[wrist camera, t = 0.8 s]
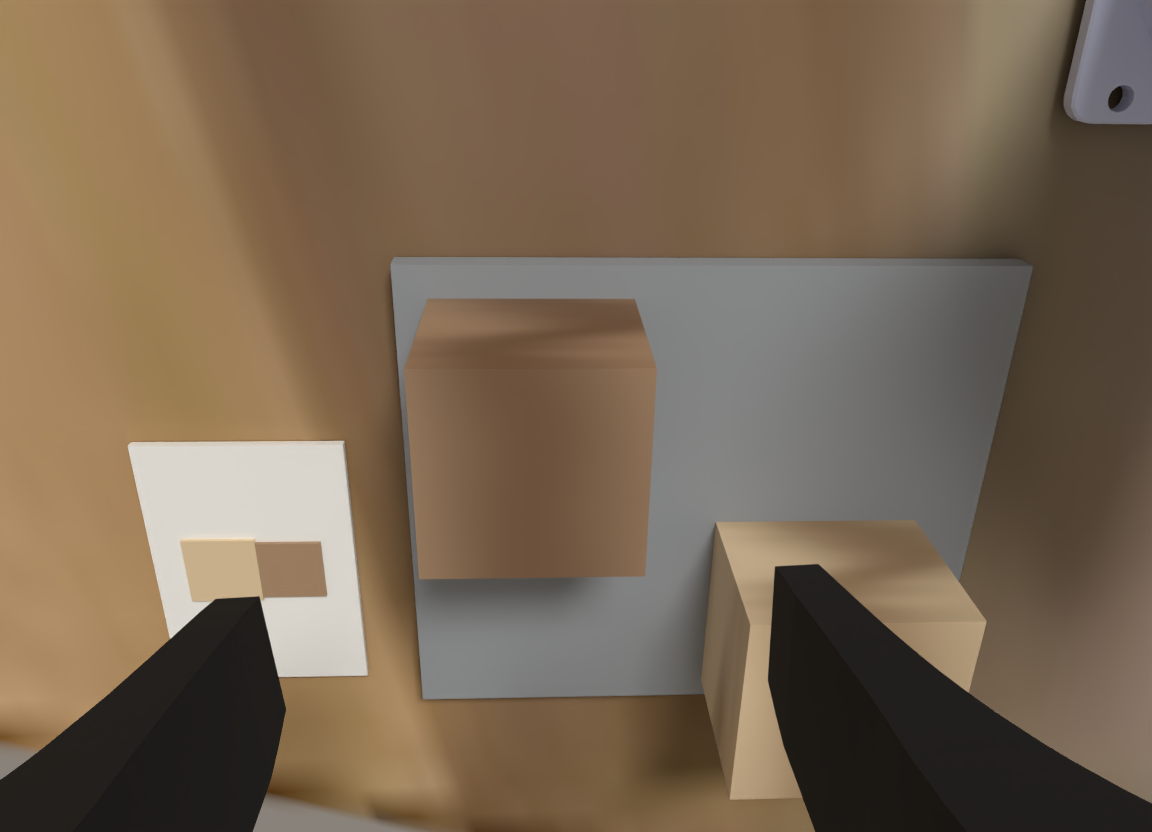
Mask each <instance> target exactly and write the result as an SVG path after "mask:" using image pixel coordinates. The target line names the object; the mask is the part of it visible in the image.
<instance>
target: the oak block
mask: <svg viewBox="0 0 1152 832" xmlns="http://www.w3.org/2000/svg"><path fill="white" fill-rule="evenodd" d="M808 564H819V565H820V566H821V567H822V568H823V569H824V570H826V571H827V572H828V573H829V574H830V575H831V576H832V577H833V578H834V579H835V580H836V581H837V582H839V583H840V584H841V585H842V586H843V587H844V588H845V589H846V590H847V591H848V592H849V593H850V594H851V595H853V596H854V597H855V598H856V599H857V600H858V601H859V602H860V603H861V604H862V605H863V606H865V607H866V608H867V609H868V610H869V611H870V612H871V613H872V614H873V615H874V616H875V617H877V618H878V619H879V620H880V621H881V622H882V623H883V624H884V625H885V626H887V627H888V628H889V629H890V630H891V631H892V632H893V633H895V634H896V635H897V636H898V637H899V638H900V639H902V640H903V641H904V642H905V643H906V644H907V645H909V646H910V647H911V648H912V649H913V650H915V651H916V652H917V653H918V654H919V655H921V656H922V657H923V658H924V659H925V660H927V661H928V662H929V663H930V664H932V665H933V666H934V667H935V668H937V669H938V670H939V671H940V672H942V673H943V674H944V675H946V676H947V677H948V678H950V679H951V680H952V681H954V682H955V683H956V684H958V685H959V686H960V687H961V688H963V689H964V690H965V691H967V692H968V693H969V689H970V685H971V681H972V677H973V673H974V670H975V666H976V662H977V658H978V654H979V650H980V646H981V642H982V638H983V635H984V631H985V627H986V623H987V621H986V620H985V618H984V617H983V615H982V614H981V613H980V611H979V610H978V608H977V607H976V606H975V604H974V603H973V601H972V600H971V598H970V597H969V596H968V594H967V593H966V591H965V590H964V589H963V587H962V586H961V584H960V583H959V582H958V580H957V579H956V577H955V576H954V575H953V573H952V572H951V570H950V569H949V567H948V566H947V565H946V563H945V562H944V560H943V559H942V558H941V556H940V555H939V553H938V552H937V551H936V549H935V548H934V546H933V545H932V543H931V542H930V541H929V539H928V538H927V536H926V535H925V534H924V532H923V531H922V529H921V528H920V527H919V525H918V524H917V522H916V521H915V520H876V521H775V522H716V526H715V536H714V547H713V558H712V568H711V579H710V590H709V600H708V611H707V622H706V632H705V643H704V654H703V664H702V675H701V682H702V686H703V690H704V694H705V699H706V703H707V707H708V711H709V715H710V720H711V724H712V728H713V732H714V736H715V740H716V745H717V749H718V753H719V757H720V761H721V765H722V770H723V774H724V778H725V782H726V786H727V791H728V795H729V799H730V800H733V799H776V798H803V797H802V795H801V792H800V789H799V787H798V784H797V781H796V779H795V776H794V773H793V771H792V768H791V765H790V763H789V760H788V757H787V754H786V751H785V749H784V746H783V742H782V738H781V734H780V730H779V726H778V722H777V718H776V714H775V710H774V705H773V701H772V697H771V692H770V688H769V684H768V668H769V652H770V636H771V620H772V605H773V589H774V573H775V566H790V565H808Z"/></svg>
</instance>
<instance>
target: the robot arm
mask: <svg viewBox="0 0 1152 832" xmlns="http://www.w3.org/2000/svg"><path fill="white" fill-rule="evenodd" d="M1118 86H1120V87H1121V88H1122V90H1123V96H1122V99H1121V101H1120V103H1119V104H1118V105H1117V106H1116V107H1114V108H1113V109H1110V108H1109V106H1108V98H1109V96H1110V94H1111V92H1112V91H1113V90H1114V89H1115V88H1117V87H1118ZM1064 108H1065V111H1066V114H1067V115H1068V116H1069V117H1070V118H1072V119H1073V120H1076V121H1080V122H1084V123H1088V124H1152V0H1086V3H1085V8H1084V12H1083V16H1082V21H1081V25H1080V29H1079V34H1078V38H1077V42H1076V47H1075V51H1074V55H1073V60H1072V64H1071V68H1070V73H1069V77H1068V81H1067V86H1066V90H1065V94H1064ZM768 684H769V688H770V692H771V697H772V701H773V705H774V710H775V714H776V718H777V722H778V726H779V730H780V734H781V738H782V742H783V746H784V749H785V751H786V754H787V757H788V760H789V763H790V765H791V768H792V771H793V773H794V776H795V779H796V781H797V784H798V787H799V789H800V792H801V795H802V797H803V800H804V803H805V805H806V808H807V811H808V813H809V816H810V818H811V821H812V824H813V826H814V829H815V832H1152V804H1151V803H1149V802H1147V801H1146V800H1144V799H1142V798H1140V797H1138V796H1136V795H1134V794H1132V793H1130V792H1128V791H1126V790H1124V789H1122V788H1120V787H1118V786H1117V785H1115V784H1113V783H1111V782H1109V781H1108V780H1106V779H1104V778H1102V777H1100V776H1099V775H1097V774H1095V773H1093V772H1091V771H1090V770H1088V769H1086V768H1084V767H1082V766H1081V765H1079V764H1077V763H1075V762H1073V761H1072V760H1070V759H1068V758H1067V757H1065V756H1063V755H1062V754H1060V753H1058V752H1057V751H1055V750H1053V749H1051V748H1050V747H1048V746H1047V745H1045V744H1043V743H1042V742H1040V741H1039V740H1037V739H1036V738H1034V737H1032V736H1031V735H1029V734H1028V733H1026V732H1025V731H1023V730H1022V729H1020V728H1019V727H1017V726H1016V725H1014V724H1013V723H1011V722H1009V721H1008V720H1006V719H1005V718H1003V717H1002V716H1000V715H999V714H997V713H996V712H994V711H993V710H992V709H990V708H989V707H987V706H986V705H984V704H983V703H982V702H980V701H979V700H977V699H976V698H975V697H973V696H972V695H971V694H969V693H968V692H967V691H965V690H964V689H963V688H961V687H960V686H959V685H958V684H956V683H955V682H954V681H952V680H951V679H950V678H948V677H947V676H946V675H944V674H943V673H942V672H940V671H939V670H938V669H937V668H935V667H934V666H933V665H932V664H930V663H929V662H928V661H927V660H925V659H924V658H923V657H922V656H921V655H919V654H918V653H917V652H916V651H915V650H913V649H912V648H911V647H910V646H909V645H907V644H906V643H905V642H904V641H903V640H902V639H900V638H899V637H898V636H897V635H896V634H895V633H893V632H892V631H891V630H890V629H889V628H888V627H887V626H885V625H884V624H883V623H882V622H881V621H880V620H879V619H878V618H877V617H875V616H874V615H873V614H872V613H871V612H870V611H869V610H868V609H867V608H866V607H865V606H863V605H862V604H861V603H860V602H859V601H858V600H857V599H856V598H855V597H854V596H853V595H851V594H850V593H849V592H848V591H847V590H846V589H845V588H844V587H843V586H842V585H841V584H840V583H839V582H837V581H836V580H835V579H834V578H833V577H832V576H831V575H830V574H829V573H828V572H827V571H826V570H824V569H823V568H822V567H821V566H820V565H819V564H808V565H790V566H775V573H774V589H773V605H772V620H771V636H770V652H769V668H768ZM285 712H286V707H285V703H284V699H283V694H282V690H281V686H280V682H279V677H278V673H277V669H276V664H275V660H274V656H273V652H272V647H271V643H270V639H269V635H268V630H267V626H266V622H265V617H264V613H263V609H262V605H261V600H260V596H256V597H238V598H221V599H215V600H214V601H213V602H211V603H210V604H209V605H208V606H206V607H205V608H204V609H203V610H202V611H201V612H200V613H198V614H197V615H196V616H195V617H194V618H193V619H192V620H191V621H189V622H188V623H187V624H186V625H185V626H184V627H183V628H182V629H181V630H180V631H178V632H177V633H176V634H175V635H174V636H173V637H172V638H171V639H170V640H169V641H168V642H166V643H165V644H164V645H163V646H162V647H161V648H160V649H159V650H158V651H157V652H156V653H154V654H153V655H152V656H151V657H150V658H149V659H148V660H147V661H145V662H144V663H143V664H142V665H141V666H140V667H139V668H138V669H137V670H135V671H134V672H133V673H132V674H131V675H130V676H129V677H128V678H126V679H125V680H124V681H123V682H122V683H121V684H120V685H119V686H117V687H116V688H115V689H114V690H113V691H112V692H111V693H110V694H108V695H107V696H106V697H105V698H104V699H103V700H101V701H100V702H99V703H98V704H96V705H95V706H94V707H93V708H92V709H90V710H89V711H88V712H87V713H85V714H84V715H83V716H82V717H81V718H79V719H78V720H77V721H76V722H74V723H73V724H72V725H71V726H70V727H68V728H67V729H66V730H65V731H64V732H62V733H61V734H60V735H59V736H57V737H56V738H55V739H54V740H53V741H51V742H50V743H49V744H48V745H46V746H45V747H44V748H43V749H41V750H40V751H39V752H38V753H36V754H35V755H34V756H32V757H31V758H30V759H28V760H27V761H26V762H24V763H23V764H22V765H20V766H19V767H18V768H16V769H15V770H14V771H12V772H11V773H10V774H8V775H7V776H6V777H4V778H3V779H1V780H0V832H253V829H254V826H255V823H256V820H257V818H258V814H259V812H260V809H261V806H262V803H263V800H264V798H265V795H266V792H267V789H268V786H269V783H270V780H271V777H272V772H273V768H274V764H275V759H276V755H277V751H278V746H279V741H280V736H281V731H282V726H283V722H284V717H285Z"/></svg>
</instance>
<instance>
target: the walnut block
mask: <svg viewBox="0 0 1152 832" xmlns="http://www.w3.org/2000/svg"><path fill="white" fill-rule="evenodd" d="M404 376H405V390H406V404H407V418H408V432H409V446H410V460H411V474H412V488H413V502H414V515H415V529H416V543H417V557H418V571H419V579H481V578H561V577H642V576H645V572H646V554H647V536H648V518H649V501H650V483H651V465H652V448H653V430H654V412H655V394H656V377H657V367H656V364H655V361H654V358H653V354H652V351H651V348H650V345H649V342H648V339H647V336H646V332H645V329H644V326H643V323H642V320H641V317H640V314H639V310H638V307H637V304H636V301H635V299H427V302H426V305H425V308H424V311H423V314H422V317H421V320H420V323H419V326H418V329H417V332H416V335H415V338H414V341H413V344H412V347H411V350H410V353H409V356H408V359H407V362H406V365H405V368H404Z"/></svg>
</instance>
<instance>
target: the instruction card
mask: <svg viewBox="0 0 1152 832" xmlns="http://www.w3.org/2000/svg"><path fill="white" fill-rule="evenodd" d="M128 450H129V454H130V459H131V463H132V468H133V472H134V477H135V481H136V486H137V491H138V495H139V500H140V504H141V509H142V513H143V518H144V522H145V527H146V531H147V536H148V540H149V545H150V549H151V554H152V558H153V563H154V568H155V572H156V577H157V581H158V586H159V590H160V595H161V599H162V604H163V608H164V613H165V617H166V622H167V626H168V631H169V635H170V639H171V638H172V637H173V636H174V635H175V634H176V633H177V632H178V631H180V630H181V629H182V628H183V627H184V626H185V625H186V624H187V623H188V622H189V621H191V620H192V619H193V618H194V617H195V616H196V615H197V614H198V613H200V612H201V611H202V610H203V609H204V608H205V607H206V606H208V605H209V604H210V603H211V602H213V601H214V600H215V599H221V598H238V597H256V596H260V600H261V605H262V609H263V613H264V617H265V622H266V626H267V630H268V635H269V639H270V643H271V647H272V652H273V656H274V660H275V664H276V669H277V673H278V677H312V676H368V672H369V668H368V658H367V649H366V640H365V630H364V621H363V611H362V602H361V592H360V583H359V574H358V564H357V555H356V545H355V536H354V526H353V517H352V508H351V498H350V489H349V479H348V470H347V460H346V451H345V441H258V442H131V443H130V444H129V445H128Z"/></svg>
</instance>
